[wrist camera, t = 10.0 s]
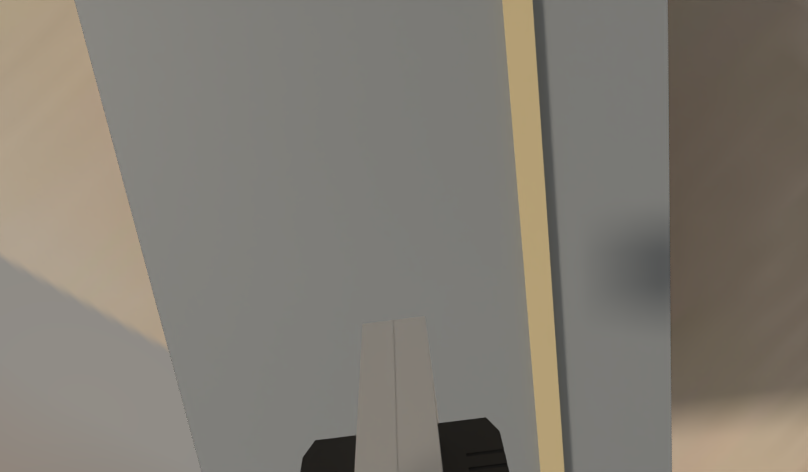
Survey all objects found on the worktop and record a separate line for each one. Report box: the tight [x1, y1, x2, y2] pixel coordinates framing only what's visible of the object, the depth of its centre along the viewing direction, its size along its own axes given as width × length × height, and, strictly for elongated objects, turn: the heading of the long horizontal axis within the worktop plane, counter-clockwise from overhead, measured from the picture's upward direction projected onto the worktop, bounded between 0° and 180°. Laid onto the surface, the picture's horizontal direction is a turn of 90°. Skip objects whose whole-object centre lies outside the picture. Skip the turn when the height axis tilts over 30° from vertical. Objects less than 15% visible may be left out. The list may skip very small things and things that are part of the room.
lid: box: [74, 0, 672, 472], centre depth 25 cm, size 23×17×2 cm
